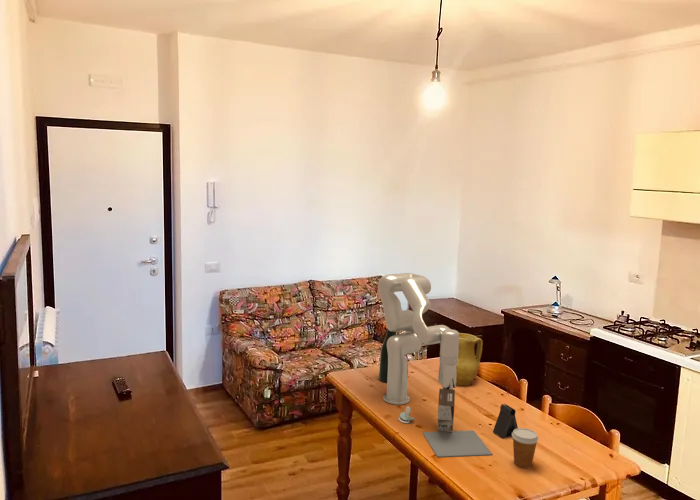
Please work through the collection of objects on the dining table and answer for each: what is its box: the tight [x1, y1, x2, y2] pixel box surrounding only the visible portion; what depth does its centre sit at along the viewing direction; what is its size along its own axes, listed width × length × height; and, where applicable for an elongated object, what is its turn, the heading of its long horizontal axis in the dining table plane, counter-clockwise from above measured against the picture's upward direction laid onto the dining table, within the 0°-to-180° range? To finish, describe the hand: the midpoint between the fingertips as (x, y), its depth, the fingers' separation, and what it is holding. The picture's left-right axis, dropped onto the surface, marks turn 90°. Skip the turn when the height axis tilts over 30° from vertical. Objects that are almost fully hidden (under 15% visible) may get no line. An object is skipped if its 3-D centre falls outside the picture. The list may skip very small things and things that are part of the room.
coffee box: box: [437, 388, 456, 432], centre depth 229 cm, size 9×6×16 cm
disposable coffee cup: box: [511, 427, 539, 469], centre depth 206 cm, size 10×10×12 cm
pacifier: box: [397, 406, 416, 424], centre depth 240 cm, size 7×6×6 cm
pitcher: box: [456, 332, 484, 387], centre depth 288 cm, size 17×19×25 cm
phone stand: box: [492, 403, 519, 439], centre depth 231 cm, size 9×6×12 cm, turn 114°
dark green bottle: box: [378, 327, 397, 384], centre depth 287 cm, size 10×10×33 cm
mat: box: [422, 429, 493, 458], centre depth 221 cm, size 20×22×1 cm
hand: (446, 401), depth 234 cm, fingers closed
